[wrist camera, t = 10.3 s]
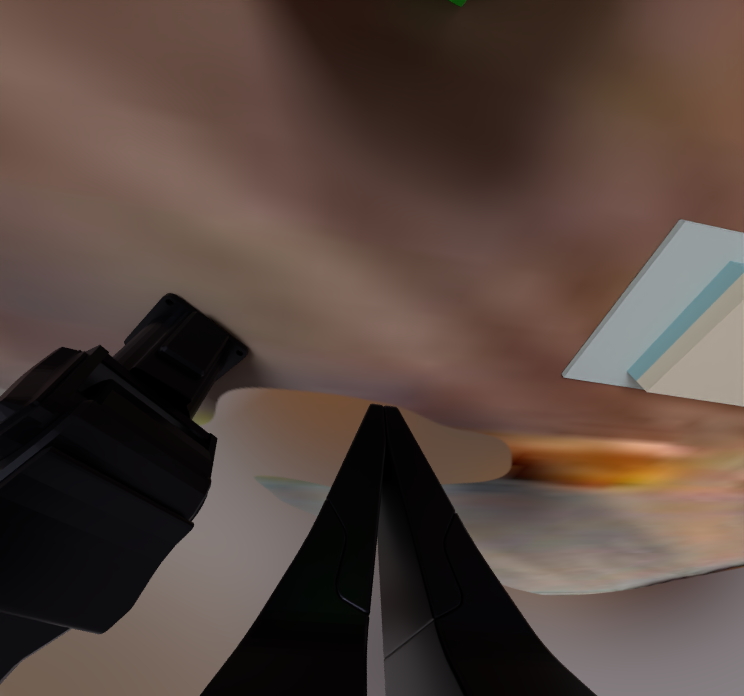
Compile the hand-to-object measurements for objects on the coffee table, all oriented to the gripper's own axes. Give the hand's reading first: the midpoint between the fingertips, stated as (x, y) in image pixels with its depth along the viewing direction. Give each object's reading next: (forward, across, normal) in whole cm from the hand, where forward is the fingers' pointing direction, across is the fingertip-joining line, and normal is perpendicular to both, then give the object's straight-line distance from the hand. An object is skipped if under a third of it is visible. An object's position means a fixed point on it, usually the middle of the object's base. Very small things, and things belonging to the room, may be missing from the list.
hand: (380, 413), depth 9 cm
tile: (+10, -20, 0) cm, 23 cm away
